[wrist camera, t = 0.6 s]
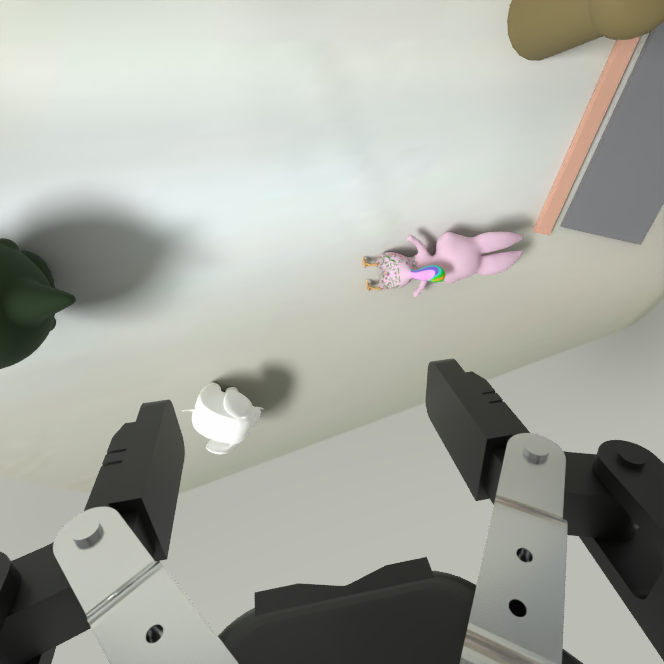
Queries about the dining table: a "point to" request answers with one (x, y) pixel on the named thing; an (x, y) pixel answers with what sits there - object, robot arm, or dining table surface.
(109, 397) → the dining table surface
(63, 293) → the dark green rounded piece
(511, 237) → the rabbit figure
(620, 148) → the mat
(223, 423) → the elephant figurine
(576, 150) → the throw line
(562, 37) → the cork
